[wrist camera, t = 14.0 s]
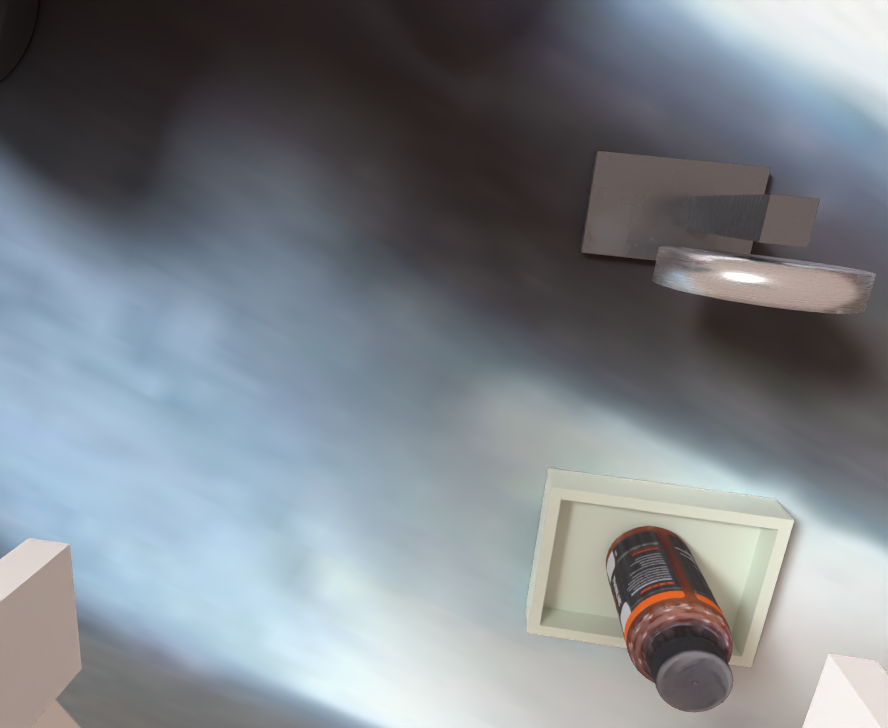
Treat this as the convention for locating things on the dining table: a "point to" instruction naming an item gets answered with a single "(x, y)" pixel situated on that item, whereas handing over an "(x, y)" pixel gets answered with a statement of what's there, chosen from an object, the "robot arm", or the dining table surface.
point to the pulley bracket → (714, 232)
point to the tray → (661, 505)
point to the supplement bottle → (670, 618)
